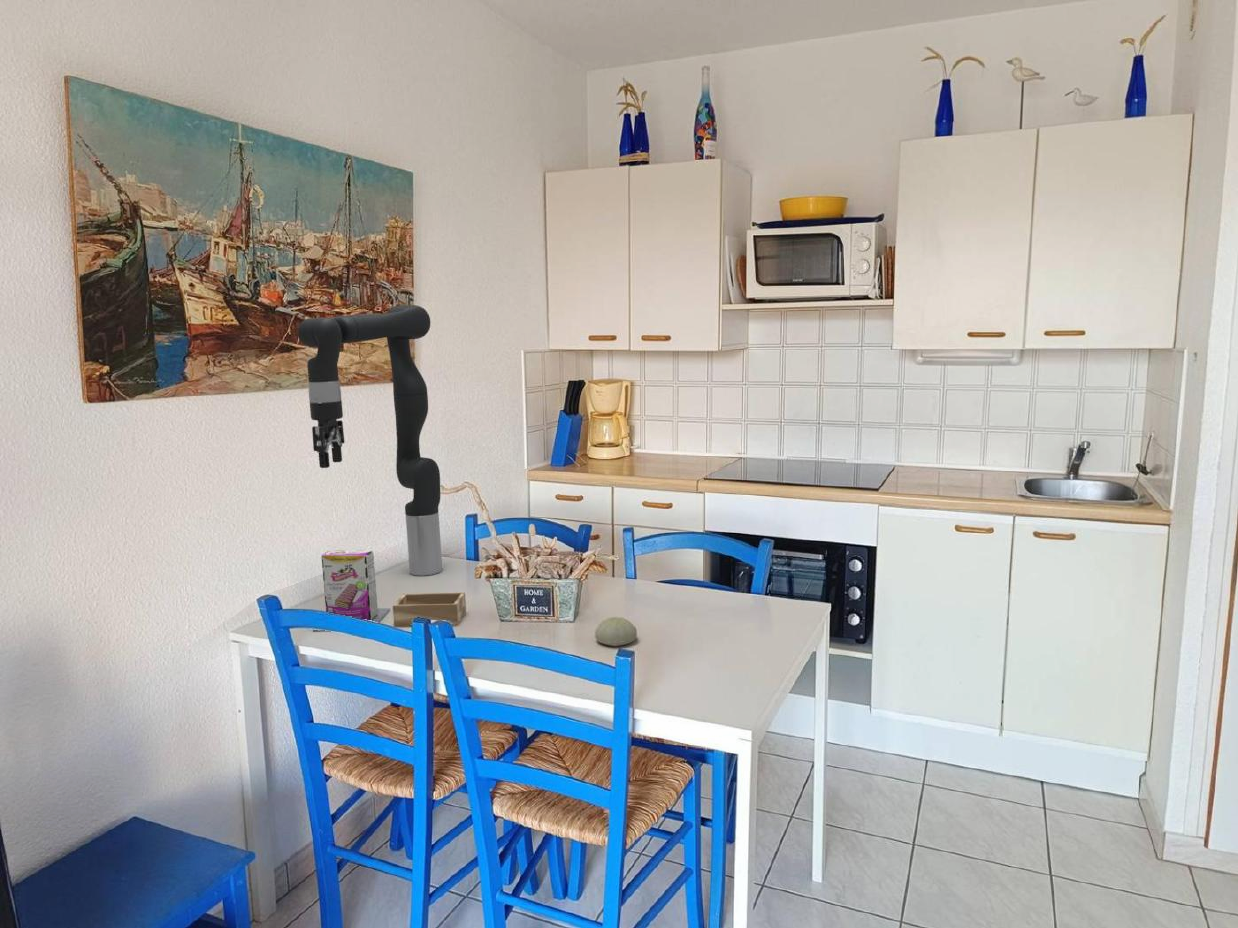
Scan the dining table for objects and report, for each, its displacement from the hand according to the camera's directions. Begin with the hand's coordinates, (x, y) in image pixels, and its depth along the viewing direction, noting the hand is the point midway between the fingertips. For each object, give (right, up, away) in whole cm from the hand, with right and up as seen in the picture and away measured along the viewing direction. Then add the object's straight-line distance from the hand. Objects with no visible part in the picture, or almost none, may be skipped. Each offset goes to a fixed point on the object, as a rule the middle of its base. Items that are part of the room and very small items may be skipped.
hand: (331, 464), depth 214 cm
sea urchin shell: (+71, -39, -26) cm, 85 cm away
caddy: (+27, -37, -8) cm, 46 cm away
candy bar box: (+8, -37, -8) cm, 39 cm away
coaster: (+8, -38, -7) cm, 39 cm away
